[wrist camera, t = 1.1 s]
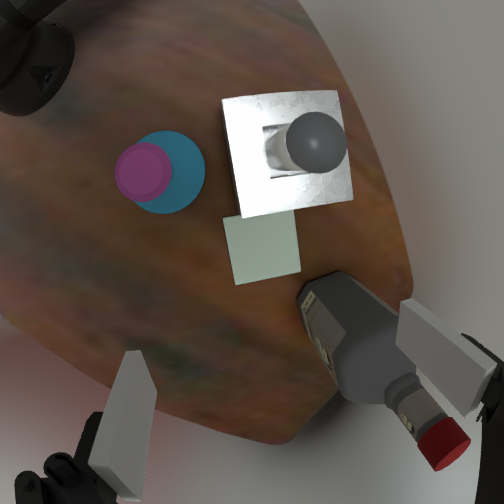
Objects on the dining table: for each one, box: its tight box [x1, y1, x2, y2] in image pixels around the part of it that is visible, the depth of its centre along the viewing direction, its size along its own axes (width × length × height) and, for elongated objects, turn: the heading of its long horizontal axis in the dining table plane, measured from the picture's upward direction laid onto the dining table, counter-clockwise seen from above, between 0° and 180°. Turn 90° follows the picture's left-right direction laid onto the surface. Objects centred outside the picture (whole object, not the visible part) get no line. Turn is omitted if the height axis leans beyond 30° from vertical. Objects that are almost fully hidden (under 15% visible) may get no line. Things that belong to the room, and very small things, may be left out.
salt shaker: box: [265, 112, 347, 174], centre depth 28 cm, size 5×5×12 cm
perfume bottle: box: [115, 131, 205, 214], centre depth 27 cm, size 9×9×15 cm
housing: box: [221, 90, 353, 218], centre depth 32 cm, size 13×13×6 cm
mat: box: [223, 209, 301, 285], centre depth 38 cm, size 9×9×1 cm
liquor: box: [297, 271, 471, 471], centre depth 28 cm, size 9×9×30 cm
